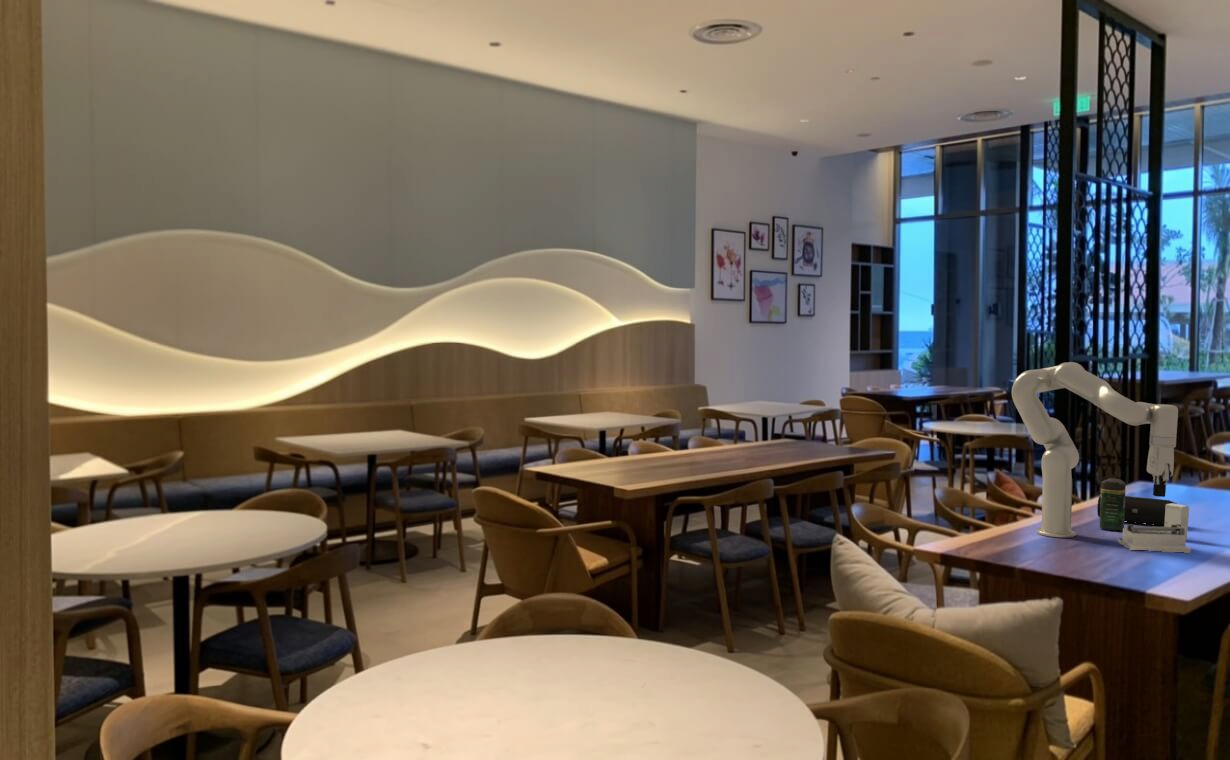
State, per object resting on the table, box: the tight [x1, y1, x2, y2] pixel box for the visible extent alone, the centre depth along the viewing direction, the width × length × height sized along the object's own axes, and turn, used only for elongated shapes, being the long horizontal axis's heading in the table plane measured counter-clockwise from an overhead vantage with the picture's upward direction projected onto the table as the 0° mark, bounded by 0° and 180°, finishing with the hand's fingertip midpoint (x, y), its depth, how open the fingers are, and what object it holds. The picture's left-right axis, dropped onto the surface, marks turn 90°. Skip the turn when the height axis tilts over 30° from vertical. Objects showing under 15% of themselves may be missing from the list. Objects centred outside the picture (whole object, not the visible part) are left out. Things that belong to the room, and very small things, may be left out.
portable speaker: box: [1096, 495, 1178, 527], centre depth 345 cm, size 26×10×10 cm, turn 53°
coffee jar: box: [1099, 477, 1127, 531], centre depth 333 cm, size 10×8×19 cm
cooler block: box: [1117, 523, 1192, 554], centre depth 303 cm, size 12×18×8 cm, turn 79°
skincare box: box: [1163, 502, 1190, 541], centre depth 316 cm, size 6×4×12 cm
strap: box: [1129, 525, 1179, 531], centre depth 303 cm, size 3×15×1 cm, turn 79°
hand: (1159, 496), depth 303 cm, fingers closed
